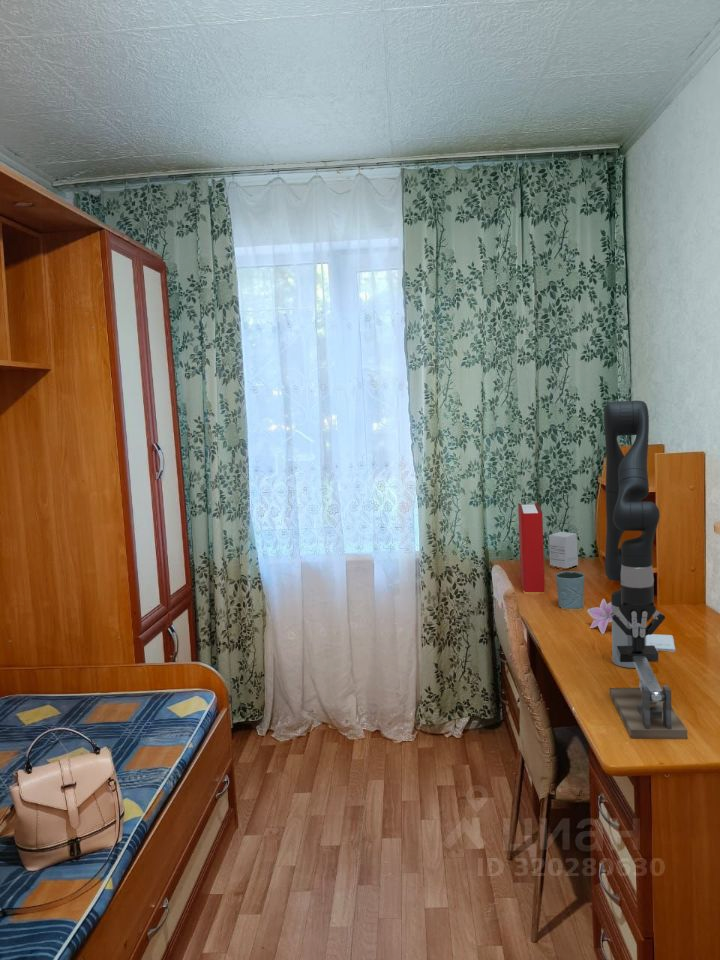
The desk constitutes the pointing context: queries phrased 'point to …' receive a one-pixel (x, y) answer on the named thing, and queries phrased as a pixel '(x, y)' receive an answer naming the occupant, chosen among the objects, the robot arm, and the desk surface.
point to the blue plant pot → (570, 589)
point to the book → (531, 547)
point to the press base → (647, 714)
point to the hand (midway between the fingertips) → (638, 650)
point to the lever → (643, 668)
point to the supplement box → (563, 549)
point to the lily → (601, 616)
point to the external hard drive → (661, 642)
